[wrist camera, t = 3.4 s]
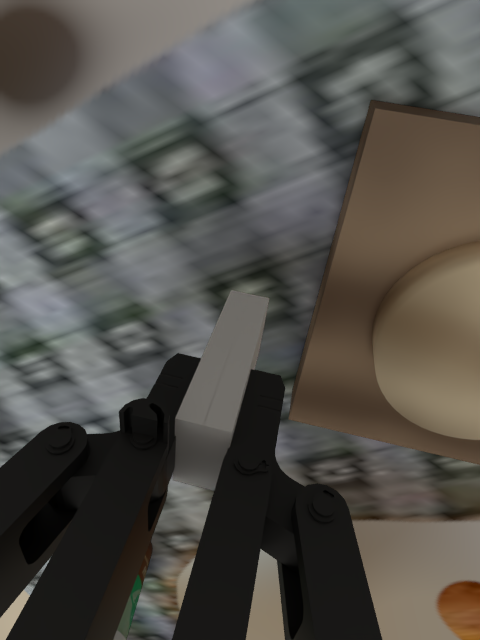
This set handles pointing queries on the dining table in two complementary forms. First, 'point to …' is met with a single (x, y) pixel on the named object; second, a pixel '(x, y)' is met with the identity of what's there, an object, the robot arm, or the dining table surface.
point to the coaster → (433, 343)
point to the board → (387, 265)
